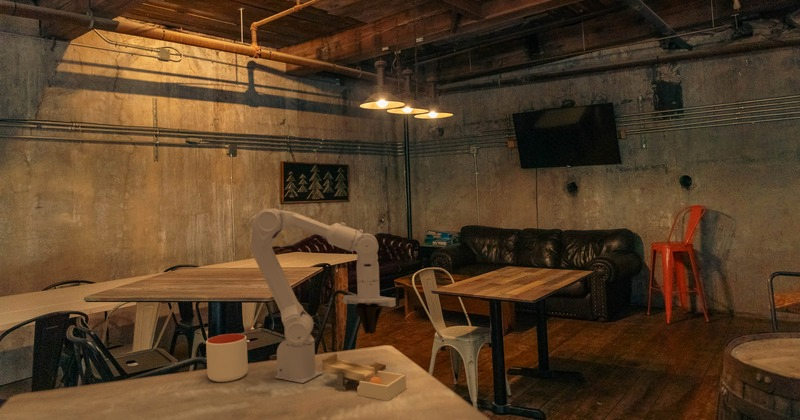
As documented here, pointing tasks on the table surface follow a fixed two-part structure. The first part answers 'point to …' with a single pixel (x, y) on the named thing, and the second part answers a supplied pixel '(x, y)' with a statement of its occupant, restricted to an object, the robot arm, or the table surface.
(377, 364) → the catapult lever
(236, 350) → the cup
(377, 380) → the ball
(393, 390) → the tray
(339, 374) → the pivot bracket
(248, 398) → the table surface
